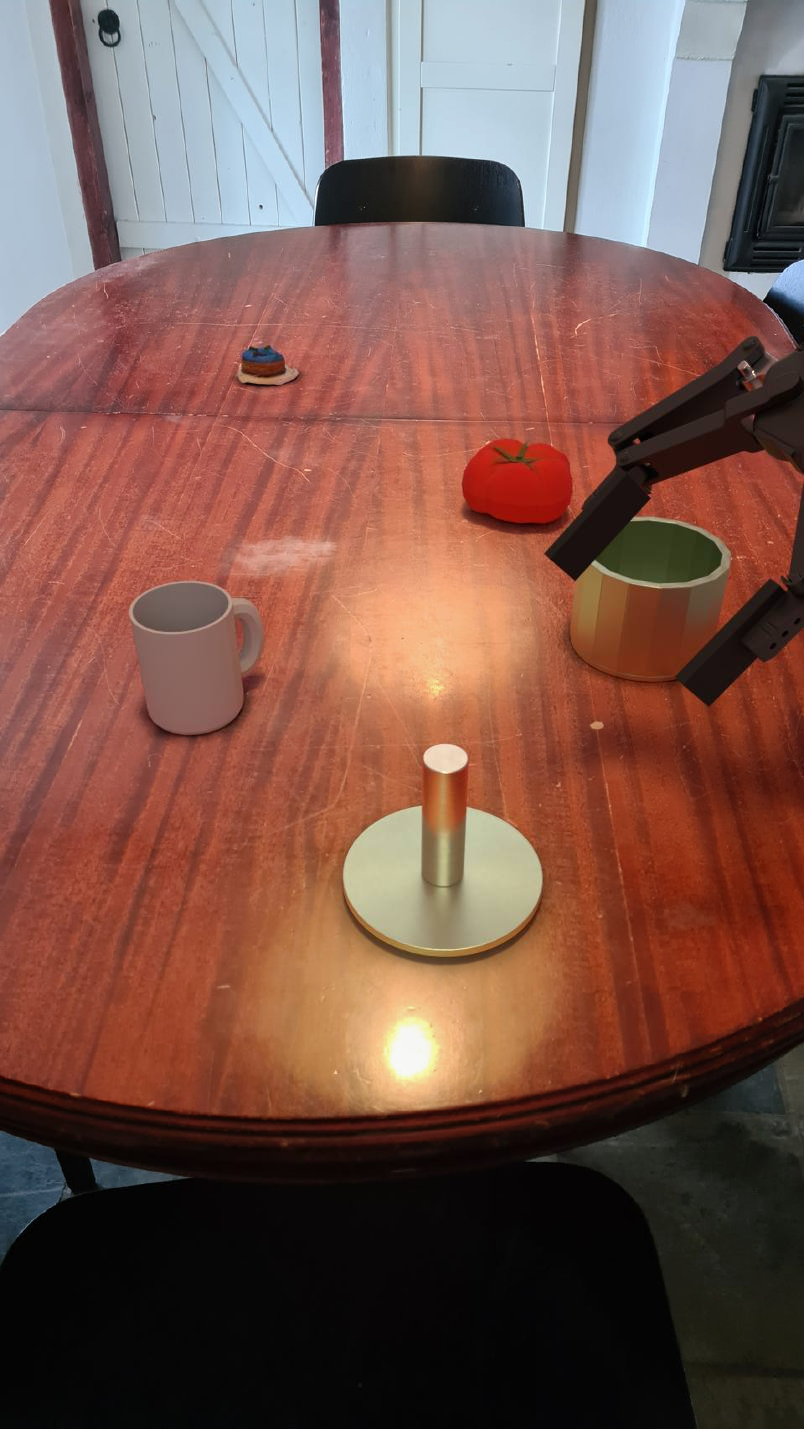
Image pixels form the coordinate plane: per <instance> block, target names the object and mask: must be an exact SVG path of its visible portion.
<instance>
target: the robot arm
mask: <svg viewBox="0 0 804 1429" xmlns="http://www.w3.org/2000/svg"><path fill="white" fill-rule="evenodd" d="M751 416H754V417H753V419H752V418H751ZM637 439H638V440H639V442H638V443H637V442H636V440H637ZM607 445H609V446H610V448H612V450H613V453H614V457H615V465H614V467H613V468H612V470H611V471H610V472H609V473H608V475H607V476H606V477H605V478H604V479H603V480H602V481H601V482H600V483H599V484H598V485H597V487H596V488H595V489H594V490H593V491H591V492H592V493H591V494H590V495H589V496H587V497H586V499H585V500H584V502H583V503H582V506H581V507H580V510H581V511H580V513H579V514H578V515H577V516H576V517H575V518H574V520H572V521H571V523H570V524H569V525H568V526H567V527H566V528H565V529H564V531H563V532H561V533H560V535H559V536H558V537H557V538H556V539H555V541H554V542H553V543H551V545H550V546H549V547H548V548H547V549H546V551H545V552H544V553H543V554H544V556H546V557H547V558H548V559H549V560H550V561H551V562H552V563H553V564H554V565H555V566H556V567H558V568H560V570H561V571H563V573H565V574H566V575H567V576H569V577H570V579H572V580H573V581H574V582H575V581H576V580H577V579H578V578H579V577H580V576H581V575H582V573H583V572H584V571H585V570H586V569H587V568H588V567H589V566H590V565H591V564H592V562H593V561H594V560H595V559H596V558H597V557H598V556H599V555H600V554H601V553H602V552H603V550H604V549H605V548H606V547H607V546H608V545H609V544H610V543H611V542H612V541H613V540H614V538H615V537H616V536H617V535H618V534H619V533H620V532H621V531H622V530H623V529H624V527H625V526H626V525H627V524H628V523H629V522H630V521H631V520H632V519H633V518H634V517H636V515H637V514H638V513H639V512H640V511H641V510H642V509H643V508H644V507H645V506H646V505H647V504H648V502H649V501H650V500H651V499H652V498H651V497H650V495H652V494H653V493H652V491H653V485H655V484H658V483H661V482H664V481H667V480H670V479H672V478H674V477H677V476H680V475H682V474H685V473H688V472H690V471H694V470H696V469H698V468H701V467H704V466H707V465H710V464H713V463H715V462H718V461H720V460H722V459H723V460H724V459H726V458H728V457H731V456H734V455H736V454H739V453H743V452H745V453H750V454H755V453H759V452H760V453H761V452H763V451H765V452H766V453H767V454H768V455H769V456H771V457H772V458H774V459H776V460H777V461H782V462H787V463H790V464H791V466H792V467H793V468H794V470H795V471H796V472H797V473H799V474H801V475H803V476H804V332H803V334H802V337H801V340H800V342H799V344H798V346H797V347H796V348H794V350H792V351H791V352H789V353H788V354H787V355H785V356H784V357H782V358H779V359H778V358H777V357H775V356H774V355H772V354H771V353H770V352H769V351H768V350H767V348H766V347H765V345H764V344H763V343H762V341H761V340H760V338H759V337H758V336H756V335H750V336H748V337H746V338H744V340H742V341H741V342H740V343H739V344H738V345H737V346H736V347H735V348H734V349H733V350H732V351H731V352H730V353H729V354H728V355H727V356H726V357H725V358H723V360H721V362H720V363H718V364H717V365H715V366H714V367H712V368H710V369H709V370H707V371H706V372H704V373H702V374H701V375H699V376H698V377H696V378H695V379H693V380H692V381H690V382H688V383H686V384H685V385H683V386H682V387H680V388H679V389H677V390H675V391H674V392H672V393H670V394H669V395H667V396H666V397H665V398H663V399H661V400H659V401H658V402H656V403H655V404H654V405H652V406H650V407H648V408H647V409H646V410H644V411H642V412H641V413H639V414H638V415H636V416H634V417H633V418H631V419H630V420H628V421H626V422H625V423H623V424H621V425H620V426H618V427H617V428H615V429H613V431H611V432H610V434H609V435H608V437H607ZM801 489H802V490H801V496H800V500H799V508H798V513H797V521H796V527H795V534H794V538H793V545H792V552H791V558H790V564H789V571H788V574H786V575H785V576H784V575H780V581H781V582H782V584H783V586H784V587H786V590H785V589H784V588H783V586H782V585H780V584H779V583H778V582H776V581H775V580H773V579H772V578H771V577H769V579H768V580H767V581H766V582H765V583H764V584H763V585H762V586H761V587H760V588H759V589H758V590H757V591H756V592H755V593H754V594H753V595H752V596H751V597H750V598H749V599H748V600H747V601H746V603H744V604H743V605H742V606H741V607H740V608H739V610H737V612H736V613H735V614H734V615H733V616H732V617H731V618H730V619H729V620H728V621H727V622H726V623H725V624H724V625H723V626H722V627H721V628H720V629H719V630H718V631H716V635H715V636H714V637H713V638H712V639H711V640H710V641H709V642H708V643H707V644H706V645H705V646H704V647H703V648H702V649H701V650H700V651H699V652H698V653H697V654H696V655H695V656H694V657H693V658H692V659H691V660H690V661H689V662H688V663H687V664H686V665H685V667H684V668H683V669H682V670H681V671H680V672H679V673H678V674H677V675H676V676H675V678H676V680H677V682H679V683H680V684H681V685H682V686H683V687H684V688H686V689H687V690H688V691H689V692H690V693H691V694H693V695H694V696H695V697H696V698H697V699H698V700H700V702H702V703H703V704H704V705H705V706H706V707H708V708H710V707H711V706H712V704H714V703H715V702H716V701H717V700H718V699H719V698H720V696H722V695H723V694H724V693H725V691H727V690H728V689H729V688H730V687H731V686H732V685H733V683H735V682H736V680H737V679H739V678H740V676H741V675H742V674H743V673H745V671H746V670H748V669H749V667H750V666H751V665H752V664H753V663H754V662H755V661H756V660H757V659H759V660H760V661H761V662H762V663H763V664H765V663H766V662H769V661H770V660H772V659H774V658H775V657H776V656H778V654H779V653H780V652H781V651H783V649H784V648H785V647H786V646H788V644H789V642H791V641H792V640H793V639H794V638H795V637H797V635H798V634H799V633H800V632H801V631H802V630H803V629H804V482H802V488H801Z"/></svg>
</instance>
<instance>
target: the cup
mask: <svg viewBox="0 0 804 1429" xmlns="http://www.w3.org/2000/svg"><path fill="white" fill-rule="evenodd" d="M128 616H129V620H130V626H131V631H132V635H133V636H132V637H133V642H134V646H135V652H136V658H137V662H138V667H139V668H138V669H139V672H140V678H141V684H142V688H143V694H144V698H145V703H146V709H147V712H148V716H149V717H150V719H151V720H152V722H153V723H155V725H157V726H158V727H160V728H161V729H163V731H166V732H169V733H172V734H175V735H176V734H177V735H182V736H183V735H184V736H194V735H195V736H196V735H197V736H198V735H203V734H209V733H212V732H214V731H217V730H220V729H222V728H223V727H225V726H227V725H229V724H230V723H231V722H232V721H234V720H235V719H236V718H237V716H238V714H239V713H240V711H241V709H242V708H243V706H244V705H243V704H244V685H243V677H245V676H247V675H248V674H249V673H250V672H251V671H253V670H254V669H255V667H256V666H257V664H258V663H259V662H260V660H261V659H262V658H261V657H262V655H263V652H264V647H265V628H264V624H263V621H262V617H261V615H260V612H259V609H258V608H257V607H256V606H255V605H254V603H253V602H252V601H250V600H248V599H246V598H245V597H232V596H231V595H230V594H229V592H228V591H227V590H226V589H224V588H223V587H221V586H219V585H217V584H215V583H210V582H206V581H197V580H178V581H172V582H167V583H163V584H160V585H156V586H154V587H152V588H149V589H147V590H145V591H143V592H142V593H141V594H139V595H138V596H136V598H135V599H134V600H133V601H132V602H131V604H130V606H129V609H128ZM237 619H238V620H239V621H240V623H241V626H242V634H243V635H242V645H241V648H240V651H239V645H238V636H237V628H236V620H237Z"/></svg>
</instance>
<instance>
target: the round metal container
mask: <svg viewBox="0 0 804 1429" xmlns="http://www.w3.org/2000/svg"><path fill="white" fill-rule="evenodd" d="M732 556H733V554H732V552H731V551H730V550H729V548H728V547H727V545H726V544H725V542H724V541H723V540H722V539H721V538H719V537H717V536H716V535H714V534H713V533H711V532H710V531H708V530H706V529H705V528H702V527H700V526H697V525H693V524H691V523H688V522H685V521H681V520H677V519H673V518H666V517H665V518H664V517H657V516H635V517H634V518H633V519H632V520H631V521H630V522H629V523H628V524H627V525H626V526H625V527H624V529H623V530H622V531H621V532H620V533H619V534H618V535H617V536H616V537H615V538H614V540H613V541H612V542H611V543H610V544H609V545H608V546H607V547H606V548H605V549H604V550H603V552H602V553H601V554H600V555H599V556H598V557H597V558H596V559H595V560H594V561H593V562H592V564H591V565H590V566H589V567H588V568H587V569H586V570H585V571H584V572H583V573H582V575H581V576H580V577H579V578H578V579H577V580H576V581H574V589H573V597H572V598H573V599H572V607H571V615H570V616H571V617H570V625H569V634H570V642H571V646H572V648H573V650H574V651H575V653H576V655H578V656H579V657H580V658H581V660H583V661H584V662H585V663H587V664H588V665H590V666H591V667H593V668H595V669H597V670H598V671H600V672H602V673H605V674H607V675H610V676H613V677H617V678H620V679H625V680H628V681H636V682H645V683H648V682H649V683H651V682H652V683H657V682H660V683H661V682H670V681H675V680H677V679H676V678H675V676H676V675H677V674H678V673H679V672H680V671H681V670H682V669H683V668H684V667H685V665H686V664H687V663H688V662H689V661H690V660H691V659H692V658H693V657H694V656H695V655H696V654H697V653H698V652H699V651H700V650H701V649H702V648H703V647H704V646H705V645H706V644H707V643H708V642H709V641H710V640H711V639H712V638H713V637H714V636H715V635H716V633H717V629H718V625H719V621H720V616H721V612H722V611H721V610H722V606H723V601H724V596H725V594H726V593H725V592H726V587H727V583H728V578H729V573H730V569H731V564H732Z"/></svg>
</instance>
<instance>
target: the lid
mask: <svg viewBox="0 0 804 1429" xmlns="http://www.w3.org/2000/svg"><path fill="white" fill-rule="evenodd" d="M469 765H470V757H469V754H468V752H466V750H465V749H463V748H462V747H460V746H459V745H456V744H452V743H438V744H434V745H432V746H429V747H428V748H427V749H426V750H425V751H424V752H423V754H422V758H421V805H415V806H412V807H411V806H410V807H407V808H403V809H400V810H397V811H395V812H392V813H389V814H386V815H385V816H382V817H381V818H380V819H378V820H376V821H375V822H373V823H371V824H370V825H368V826H367V828H365V829H364V830H363V831H362V832H361V833H359V835H358V836H357V838H355V839H354V841H353V842H352V844H351V846H350V848H349V849H348V851H347V853H346V856H345V858H344V861H343V867H342V878H341V879H342V889H343V896H344V898H345V901H346V904H347V906H348V908H349V910H350V912H351V913H352V915H353V916H354V917H355V919H356V920H357V921H358V923H359V924H361V926H362V927H364V929H366V930H367V932H369V933H370V934H372V935H373V936H374V937H376V938H377V939H379V940H381V941H382V942H385V943H386V944H388V945H389V946H392V947H394V948H397V949H399V950H401V951H405V952H409V953H412V954H416V955H421V956H428V957H439V958H447V957H448V958H449V957H450V958H451V957H453V958H454V957H463V956H469V955H473V954H477V953H483V952H485V951H488V950H491V949H493V948H496V947H498V946H500V945H502V944H504V943H506V942H508V941H509V940H511V939H512V938H514V937H515V936H516V935H517V934H518V933H520V932H521V931H522V930H523V929H524V928H525V927H526V925H528V923H529V922H530V921H531V920H532V919H533V917H534V915H535V913H536V912H537V910H538V909H539V905H540V903H541V900H542V894H543V888H544V872H543V866H542V863H541V860H540V858H539V855H538V854H537V851H536V850H535V848H534V847H533V845H532V844H531V843H530V841H529V840H528V839H527V837H525V835H523V834H522V832H520V831H519V830H518V829H517V828H515V827H514V826H513V825H511V824H510V823H508V822H507V821H505V820H504V819H502V818H500V817H498V816H496V815H494V814H492V813H489V812H487V811H483V810H482V809H477V808H473V807H469V806H468V793H469V792H468V790H469V769H470V767H469Z"/></svg>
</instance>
